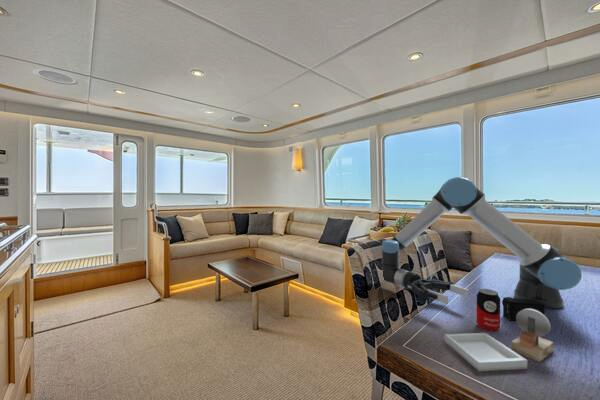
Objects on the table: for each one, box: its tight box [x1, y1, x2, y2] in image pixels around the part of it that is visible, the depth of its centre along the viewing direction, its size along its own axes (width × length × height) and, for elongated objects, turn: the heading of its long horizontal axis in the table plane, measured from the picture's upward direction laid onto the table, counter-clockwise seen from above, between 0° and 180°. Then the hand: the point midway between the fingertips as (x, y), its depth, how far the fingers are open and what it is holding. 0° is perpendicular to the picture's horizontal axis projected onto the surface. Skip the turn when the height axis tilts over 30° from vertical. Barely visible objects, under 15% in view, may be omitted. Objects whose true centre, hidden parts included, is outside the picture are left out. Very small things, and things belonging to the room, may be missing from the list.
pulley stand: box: [510, 308, 555, 363], centre depth 71 cm, size 10×7×12 cm
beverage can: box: [475, 288, 501, 332], centre depth 84 cm, size 6×6×12 cm
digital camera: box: [501, 296, 546, 323], centre depth 90 cm, size 10×5×7 cm, turn 79°
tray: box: [444, 332, 528, 372], centre depth 70 cm, size 13×13×2 cm
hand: (458, 296), depth 93 cm, fingers open, 13 cm apart
